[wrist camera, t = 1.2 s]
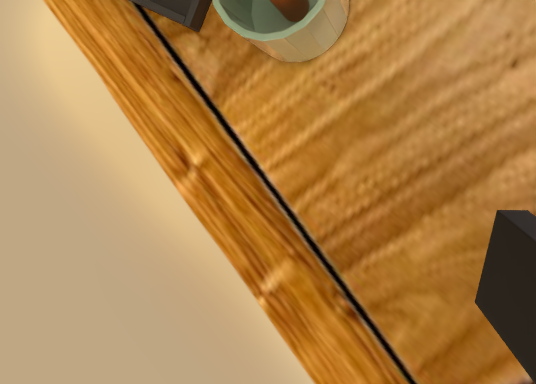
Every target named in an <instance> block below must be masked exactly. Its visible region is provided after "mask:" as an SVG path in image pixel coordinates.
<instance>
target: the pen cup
mask: <svg viewBox="0 0 536 384" xmlns="http://www.w3.org/2000/svg"><path fill="white" fill-rule="evenodd" d="M308 1H309V11H308V13H307V15H306V16H305V17H304V18H303V19H302V20H300V21H298V22H292V21H289V20H287V19H286V18H285V17H284V16H283V15H282V13H281V12H280V11H279V10H278V9H277V8H276V7H275V6H274V5H273V3H272V2H271V1H270V0H213V4H214V7H215V9H216V11H217V12H218V14H219V15H220V17H221V18H222V20H223V21H224V23H225V24H226V25H227V26H228V27H230V28H231V29H232V30H234V31H235V32H237V33H238V34H239V35H241V36H242V37H244V38H245V39H247V40H248V41H250V42H251V43H252V44H254V45H255V46H257V47H258V48H260V49H261V50H263V51H264V52H266V53H267V54H268V55H270V56H271V57H273V58H276V59H278V60H281V61H285V62H303V61H307V60H311V59H313V58H316V57H317V56H319V55H321V54H323V53H324V52H325V51H327V50H328V49H329V48H330V47H331V46H332V45H333V44H334V43H335V42H336V41H337V39H338V38H339V36H340V35H341V33H342V31H343V29H344V27H345V24H346V21H347V18H348V13H349V0H308Z"/></svg>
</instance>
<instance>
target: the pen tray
mask: <svg viewBox="0 0 536 384" xmlns="http://www.w3.org/2000/svg"><path fill="white" fill-rule="evenodd" d="M130 1H132V2H134V3H136V4H139V5H141V6H143V7H145V8H147V9H149V10H152V11H154V12H156V13H158V14H160V15H162V16H165V17H167V18H169V19H171V20H173V21H175V22H178V23H180V24H182V25H184V26H186V27H188V28H191V29H193V30H195V31H197V32H199V31H200V28H201V26H202V23H203V21H204V18H205V16H206V13H207V11H208V8H209V5H210V3H211V0H130Z"/></svg>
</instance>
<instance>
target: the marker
mask: <svg viewBox="0 0 536 384" xmlns="http://www.w3.org/2000/svg"><path fill="white" fill-rule="evenodd" d="M270 1H271V2H272V3H273V5H274V6H275V7H276V8H277V9H278V10H279V11H280V12H281V13H282V15H283V16H284V17H285V18H286V19H287V20H289V21H292V22H298V21H300V20H302V19H303V18H304V17H305V16H306V15H307V13H308V11H309V1H308V0H270Z"/></svg>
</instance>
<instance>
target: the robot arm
mask: <svg viewBox="0 0 536 384" xmlns="http://www.w3.org/2000/svg"><path fill="white" fill-rule="evenodd" d="M475 303H476V305H477V306H478V307H479V309H480V310H481V311H482V313H483V314H484V315H485V317H486V318H487V319H488V321H489V322H490V323H491V325H492V326H493V327H494V329H495V330H496V331H497V333H498V334H499V335H500V337H501V338H502V340H503V341H504V342H505V344H506V345H507V346H508V348H509V349H510V350H511V352H512V353H513V354H514V356H515V357H516V358H517V360H518V361H519V362H520V364H521V365H522V366H523V368H524V369H525V370H526V372H527V373H528V375H529V376H530V377H531V379H532V380H533V381H534V383H535V384H536V216H534V215H533V214H532V213H530V212H529V211H528V210H497V213H496V217H495V221H494V225H493V229H492V233H491V237H490V242H489V246H488V250H487V254H486V258H485V262H484V266H483V270H482V274H481V279H480V283H479V287H478V291H477V295H476V299H475Z"/></svg>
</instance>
